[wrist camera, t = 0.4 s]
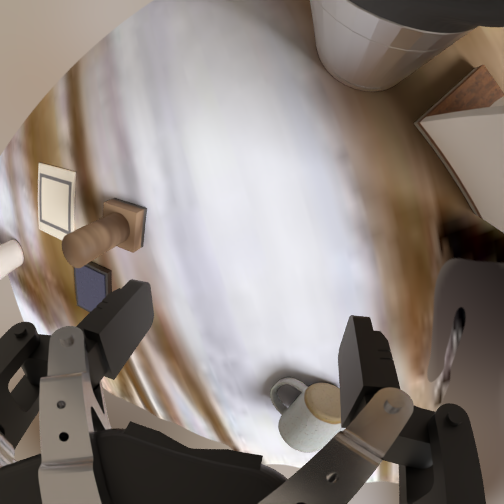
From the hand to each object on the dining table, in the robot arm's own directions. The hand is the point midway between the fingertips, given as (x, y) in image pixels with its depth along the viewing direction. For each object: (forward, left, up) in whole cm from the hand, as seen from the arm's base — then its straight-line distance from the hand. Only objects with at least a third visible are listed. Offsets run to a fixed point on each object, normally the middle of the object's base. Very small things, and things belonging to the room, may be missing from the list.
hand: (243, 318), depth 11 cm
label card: (+9, -33, -20) cm, 40 cm away
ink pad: (+20, -25, -20) cm, 37 cm away
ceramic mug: (+25, +10, -20) cm, 33 cm away
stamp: (+8, -19, -20) cm, 28 cm away
